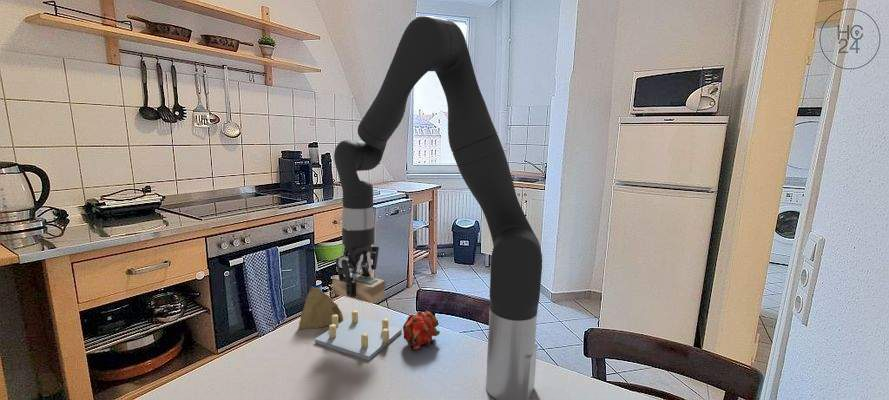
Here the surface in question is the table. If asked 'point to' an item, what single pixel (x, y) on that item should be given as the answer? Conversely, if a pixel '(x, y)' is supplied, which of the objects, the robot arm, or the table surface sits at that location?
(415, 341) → the dragon fruit
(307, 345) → the table surface
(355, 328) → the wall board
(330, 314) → the rock
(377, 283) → the frame
